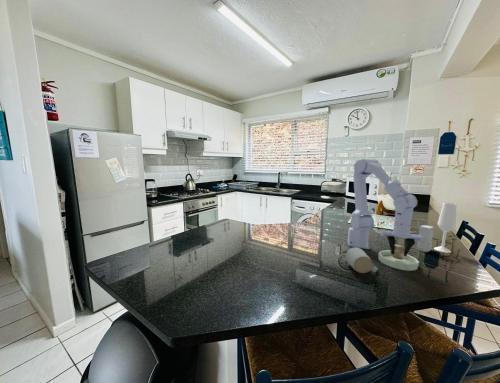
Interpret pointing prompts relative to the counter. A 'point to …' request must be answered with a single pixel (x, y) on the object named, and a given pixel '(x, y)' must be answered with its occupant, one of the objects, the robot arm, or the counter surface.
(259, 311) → the counter surface
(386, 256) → the round tray
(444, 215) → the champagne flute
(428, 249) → the skincare box
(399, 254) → the maple cylinder
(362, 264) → the ceramic mug
